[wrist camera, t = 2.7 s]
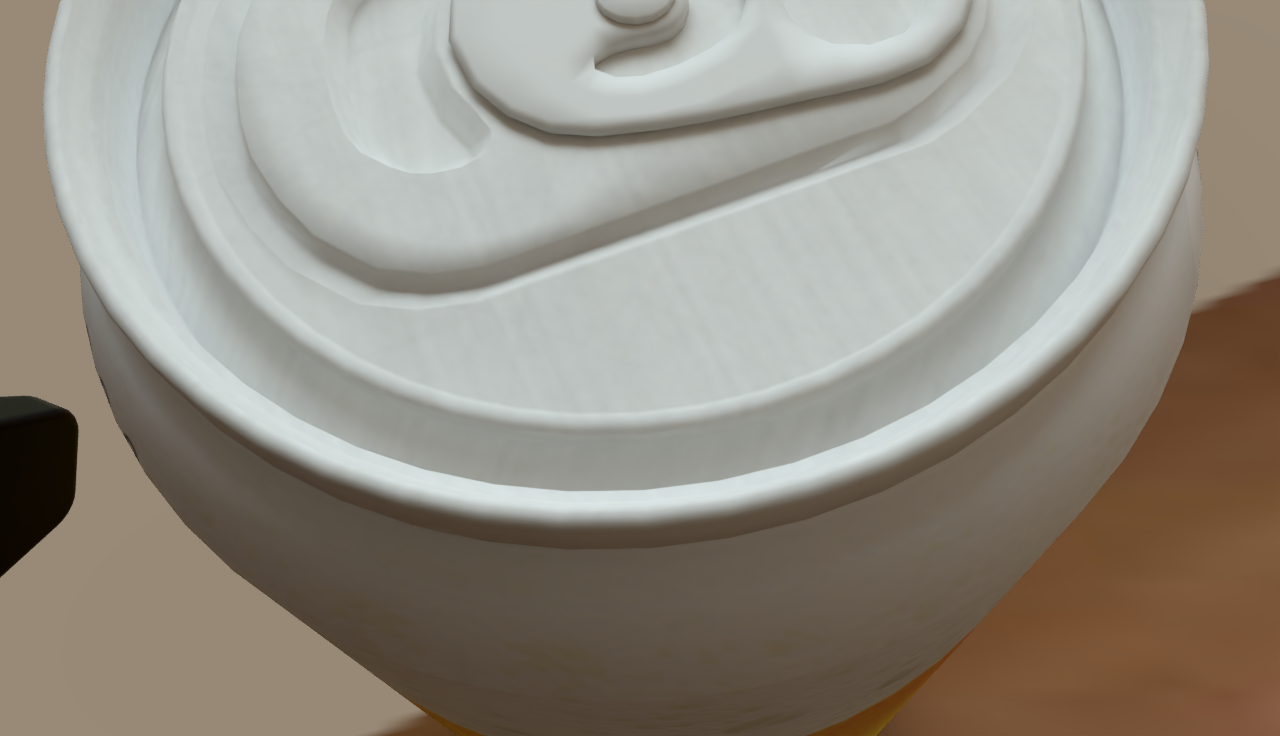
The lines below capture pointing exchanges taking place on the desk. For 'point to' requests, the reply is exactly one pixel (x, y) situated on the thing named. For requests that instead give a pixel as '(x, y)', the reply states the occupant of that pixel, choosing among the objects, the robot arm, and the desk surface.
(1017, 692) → the desk surface
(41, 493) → the robot arm
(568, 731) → the beer can
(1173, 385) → the desk surface
